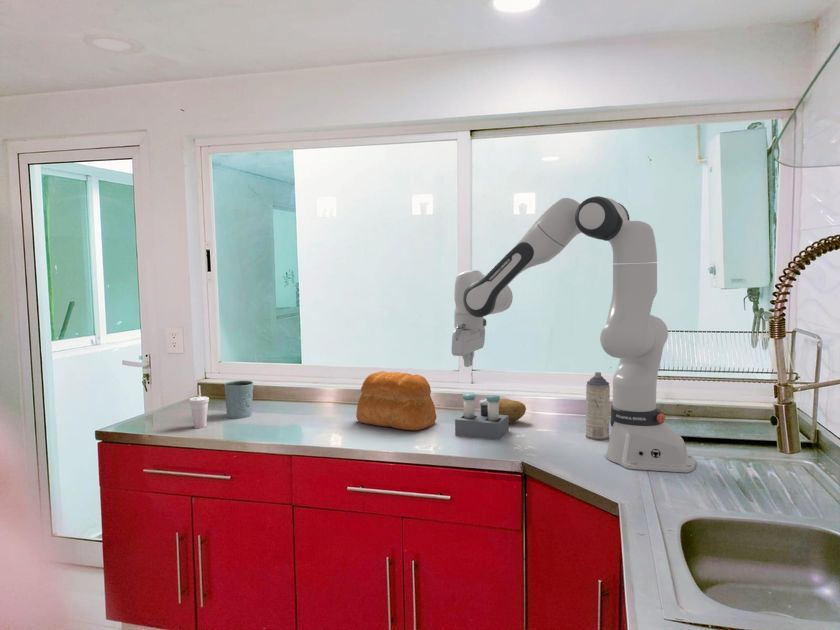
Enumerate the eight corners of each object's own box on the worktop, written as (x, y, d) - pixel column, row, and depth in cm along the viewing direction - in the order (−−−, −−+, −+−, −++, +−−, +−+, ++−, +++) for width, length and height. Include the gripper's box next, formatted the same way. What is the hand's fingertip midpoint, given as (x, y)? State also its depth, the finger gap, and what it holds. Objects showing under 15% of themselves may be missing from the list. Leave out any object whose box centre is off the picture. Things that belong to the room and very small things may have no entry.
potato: (520, 428, 193) (520, 403, 192) (480, 423, 200) (480, 399, 199) (530, 421, 201) (530, 397, 201) (491, 416, 208) (491, 394, 208)
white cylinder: (477, 416, 189) (477, 393, 189) (472, 419, 186) (472, 396, 185) (465, 414, 191) (465, 392, 190) (460, 417, 187) (460, 395, 187)
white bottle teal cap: (501, 418, 186) (501, 395, 185) (497, 421, 182) (497, 398, 182) (489, 417, 187) (489, 394, 187) (485, 420, 184) (484, 397, 183)
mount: (508, 430, 190) (508, 400, 189) (498, 440, 180) (498, 408, 179) (467, 426, 196) (467, 396, 195) (455, 435, 186) (454, 404, 185)
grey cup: (223, 414, 217) (222, 381, 216) (252, 411, 221) (251, 379, 220) (227, 420, 208) (226, 386, 207) (256, 417, 212) (255, 384, 211)
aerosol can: (613, 439, 179) (614, 373, 177) (593, 441, 177) (593, 375, 176) (601, 433, 186) (601, 370, 184) (581, 435, 184) (582, 371, 182)
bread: (417, 433, 188) (416, 380, 187) (351, 423, 202) (350, 373, 200) (441, 422, 202) (440, 372, 200) (378, 413, 215) (377, 366, 214)
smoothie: (213, 424, 203) (211, 383, 202) (205, 429, 196) (203, 387, 195) (195, 424, 203) (193, 383, 202) (186, 429, 197) (184, 387, 196)
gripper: (466, 326, 175) (466, 372, 176) (488, 320, 193) (488, 361, 195) (446, 325, 178) (446, 370, 179) (470, 319, 196) (470, 360, 197)
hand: (468, 366), depth 187 cm, fingers closed
